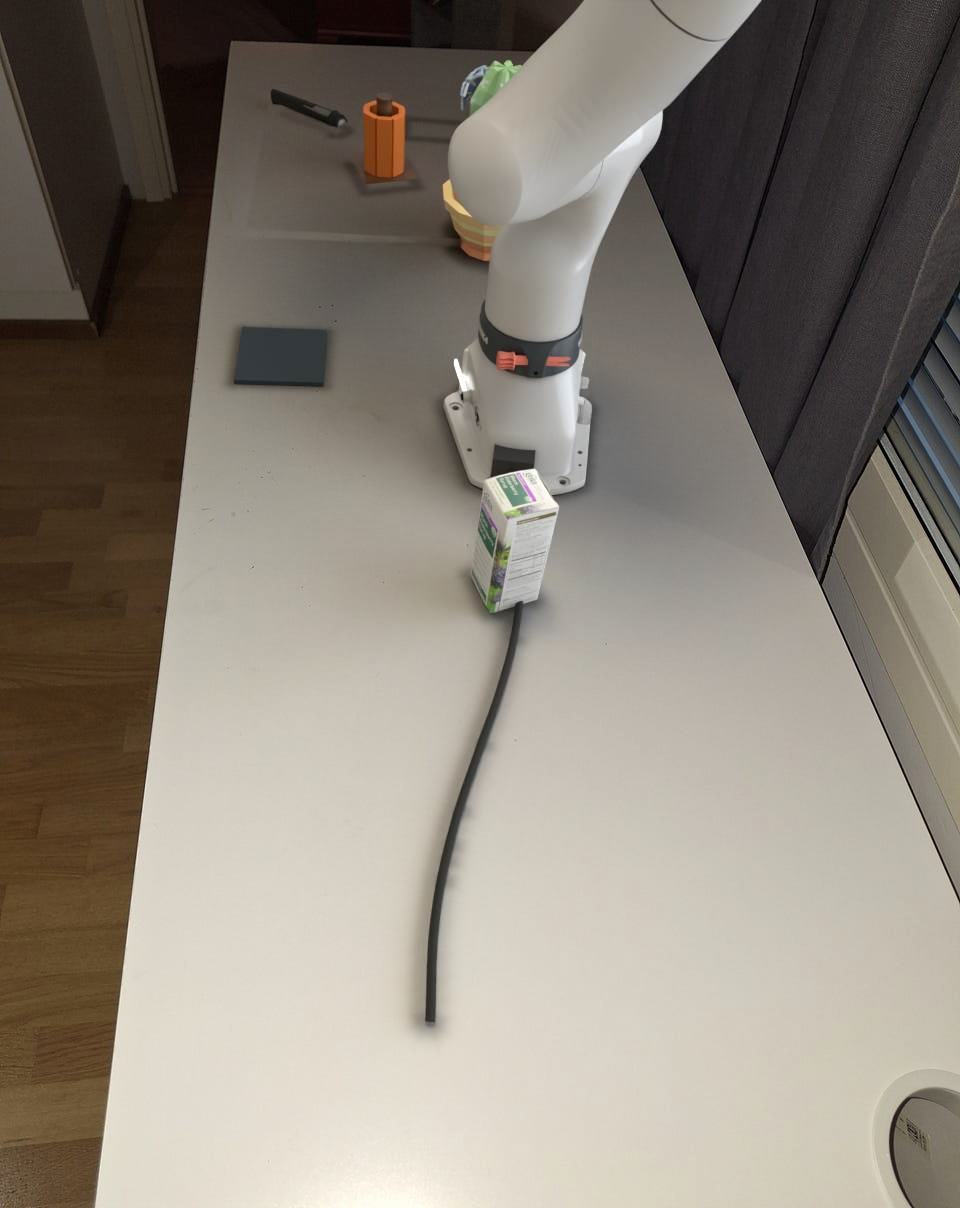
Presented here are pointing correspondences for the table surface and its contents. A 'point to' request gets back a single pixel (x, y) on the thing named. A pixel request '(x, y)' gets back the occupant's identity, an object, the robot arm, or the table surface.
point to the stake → (382, 110)
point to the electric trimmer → (307, 108)
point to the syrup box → (513, 538)
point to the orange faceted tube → (384, 141)
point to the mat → (281, 356)
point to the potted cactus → (472, 232)
